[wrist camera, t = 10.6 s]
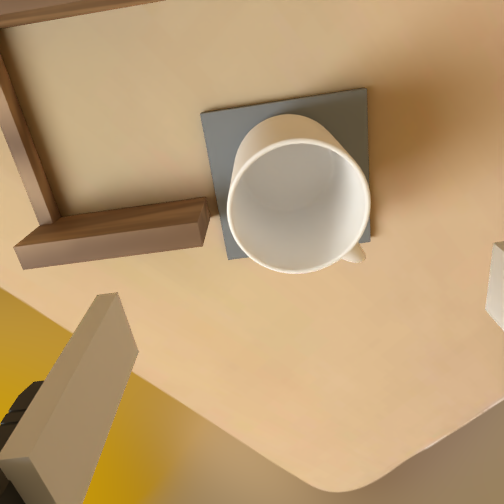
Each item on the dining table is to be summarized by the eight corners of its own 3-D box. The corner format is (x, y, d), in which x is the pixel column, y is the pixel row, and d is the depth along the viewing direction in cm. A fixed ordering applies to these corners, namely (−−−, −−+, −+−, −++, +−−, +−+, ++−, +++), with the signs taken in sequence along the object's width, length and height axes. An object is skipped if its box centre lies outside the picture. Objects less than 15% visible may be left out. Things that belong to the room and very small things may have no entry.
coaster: (201, 112, 33) (200, 114, 33) (364, 87, 33) (366, 88, 32) (228, 255, 39) (228, 259, 38) (368, 238, 38) (370, 241, 37)
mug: (310, 257, 38) (329, 327, 28) (213, 167, 35) (197, 212, 25) (385, 193, 35) (434, 246, 26) (288, 87, 32) (302, 103, 22)
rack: (-36, 2, 30) (-99, -9, 25) (159, -33, 29) (137, -52, 24) (55, 238, 38) (23, 269, 33) (210, 218, 37) (202, 246, 32)
